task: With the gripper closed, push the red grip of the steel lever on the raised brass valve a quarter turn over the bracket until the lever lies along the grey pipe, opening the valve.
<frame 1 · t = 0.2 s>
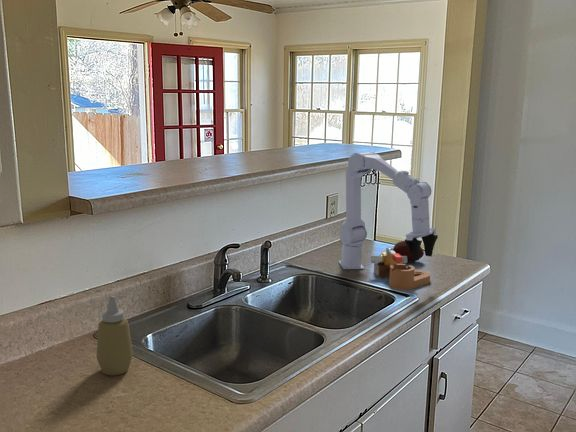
hand: (422, 258, 187), 11 cm above the worktop, tool pointing down, fingers open, 7 cm apart
valve lever: (393, 254, 194), point 9 cm above the worktop, hinge at 0.0°
squeeze bottle: (115, 370, 127), on the worktop
brass valve: (387, 275, 201), on the worktop
bracket: (409, 284, 193), on the worktop
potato: (406, 261, 219), on the worktop
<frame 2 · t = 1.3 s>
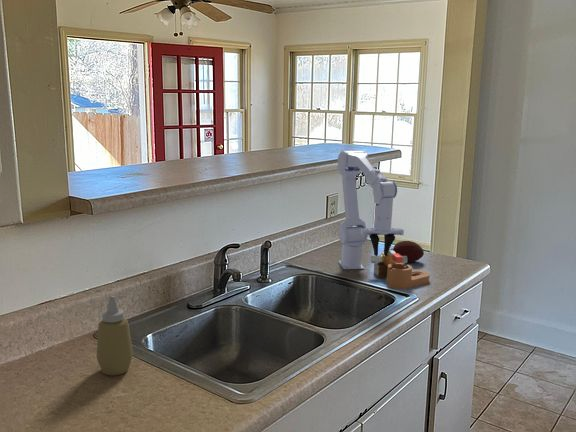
hand: (380, 255, 189), 10 cm above the worktop, tool pointing down, fingers open, 3 cm apart
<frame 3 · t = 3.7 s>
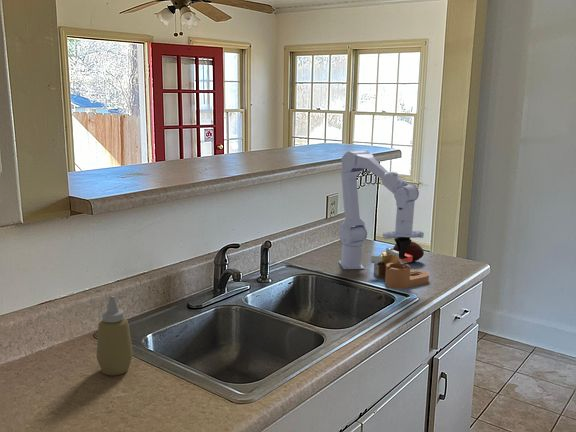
hand: (401, 258, 191), 9 cm above the worktop, tool pointing down, fingers closed, pressing on valve lever
valve lever: (398, 254, 195), point 9 cm above the worktop, hinge at 21.3°, touching gripper
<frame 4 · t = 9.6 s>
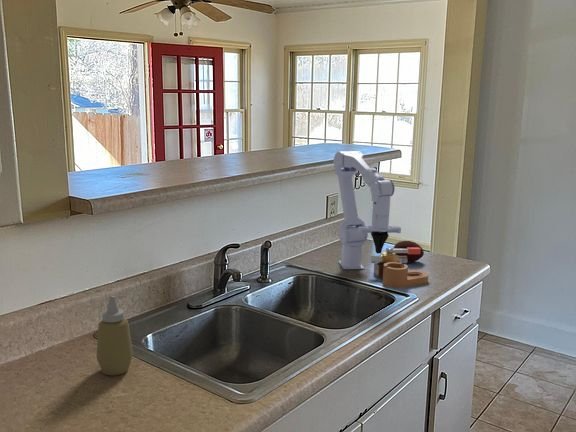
hand: (378, 252, 192), 10 cm above the worktop, tool pointing down, fingers closed
valve lever: (402, 250, 199), point 9 cm above the worktop, hinge at 89.1°
at the end: valve lever at +89° (first picture: +0°) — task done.
